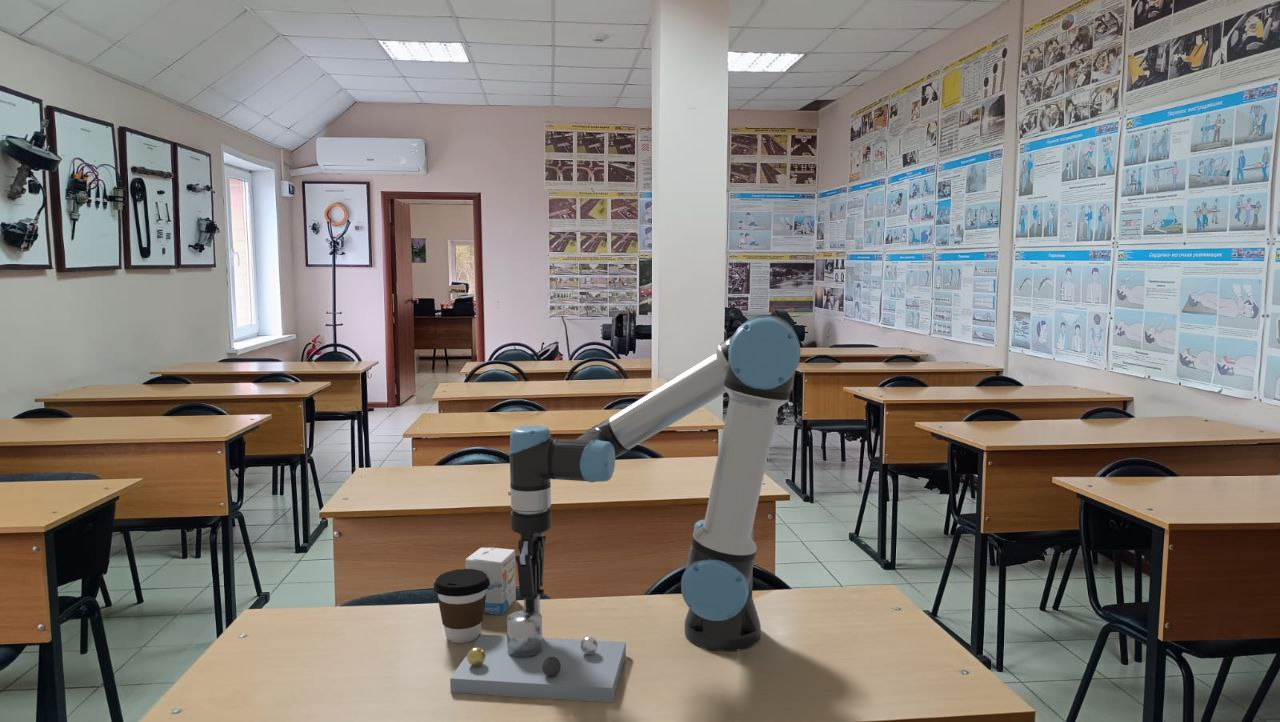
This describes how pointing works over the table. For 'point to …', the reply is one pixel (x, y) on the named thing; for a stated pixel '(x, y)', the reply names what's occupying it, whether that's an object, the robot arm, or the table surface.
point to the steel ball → (589, 645)
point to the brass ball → (476, 656)
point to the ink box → (496, 576)
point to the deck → (527, 678)
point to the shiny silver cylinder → (524, 633)
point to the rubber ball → (551, 666)
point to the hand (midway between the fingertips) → (532, 628)
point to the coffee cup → (462, 603)
